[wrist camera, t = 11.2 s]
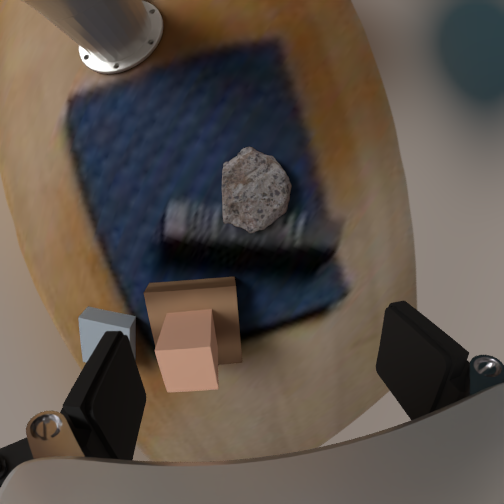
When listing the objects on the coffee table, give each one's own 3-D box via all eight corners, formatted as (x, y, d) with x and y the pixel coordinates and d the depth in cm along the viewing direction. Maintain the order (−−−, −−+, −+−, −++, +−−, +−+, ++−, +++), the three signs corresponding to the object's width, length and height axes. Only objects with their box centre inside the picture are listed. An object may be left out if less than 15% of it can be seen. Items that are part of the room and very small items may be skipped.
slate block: (88, 305, 40) (78, 317, 36) (136, 315, 41) (129, 328, 38) (91, 348, 42) (83, 361, 38) (136, 358, 43) (130, 372, 40)
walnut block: (150, 281, 41) (143, 292, 37) (234, 275, 42) (235, 285, 38) (164, 352, 44) (160, 367, 40) (240, 347, 45) (242, 362, 41)
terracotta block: (166, 313, 38) (154, 350, 29) (211, 308, 38) (210, 346, 30) (175, 350, 39) (167, 392, 31) (217, 347, 40) (218, 389, 31)
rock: (222, 230, 39) (223, 236, 36) (220, 147, 37) (221, 145, 33) (288, 228, 40) (296, 234, 36) (288, 147, 38) (296, 145, 34)
